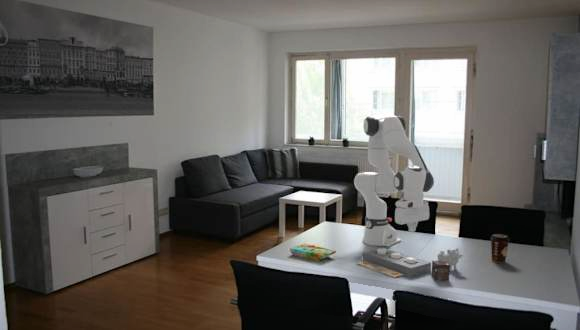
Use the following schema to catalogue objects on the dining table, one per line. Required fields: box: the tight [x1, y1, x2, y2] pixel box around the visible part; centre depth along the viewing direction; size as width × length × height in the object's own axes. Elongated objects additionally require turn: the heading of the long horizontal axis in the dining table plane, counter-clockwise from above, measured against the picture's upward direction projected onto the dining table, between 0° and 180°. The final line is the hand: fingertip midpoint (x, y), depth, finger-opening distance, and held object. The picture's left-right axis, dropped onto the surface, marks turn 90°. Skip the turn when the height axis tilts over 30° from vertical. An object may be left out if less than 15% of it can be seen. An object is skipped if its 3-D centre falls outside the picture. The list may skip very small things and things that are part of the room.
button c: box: [406, 256, 416, 264], centre depth 236 cm, size 4×4×3 cm
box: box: [431, 260, 451, 282], centre depth 226 cm, size 6×6×7 cm
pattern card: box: [356, 260, 405, 279], centre depth 237 cm, size 6×24×1 cm, turn 37°
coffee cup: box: [490, 233, 511, 264], centre depth 252 cm, size 9×8×13 cm
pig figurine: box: [437, 247, 463, 272], centre depth 239 cm, size 5×13×11 cm, turn 32°
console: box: [362, 247, 432, 278], centre depth 244 cm, size 14×30×4 cm, turn 37°
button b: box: [391, 252, 401, 259], centre depth 244 cm, size 4×4×3 cm
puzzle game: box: [289, 243, 337, 262], centre depth 257 cm, size 12×5×20 cm
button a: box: [376, 247, 387, 255], centre depth 251 cm, size 4×4×3 cm
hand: (412, 231), depth 235 cm, fingers closed
